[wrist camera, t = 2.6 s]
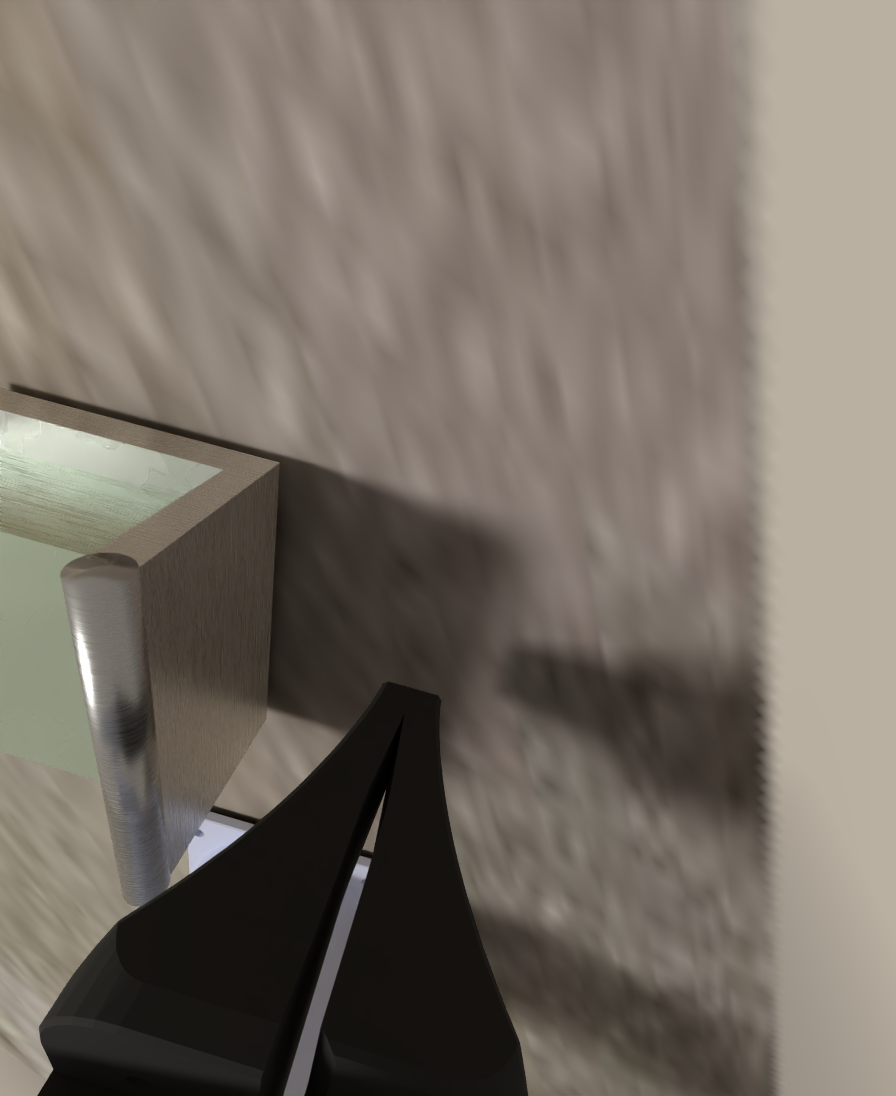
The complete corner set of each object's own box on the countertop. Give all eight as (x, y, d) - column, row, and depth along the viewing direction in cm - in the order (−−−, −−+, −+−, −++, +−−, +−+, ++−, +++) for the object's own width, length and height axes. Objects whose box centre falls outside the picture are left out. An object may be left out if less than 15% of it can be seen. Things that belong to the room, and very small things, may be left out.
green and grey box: (271, 715, 17) (153, 911, 12) (40, 649, 17) (-175, 813, 12) (287, 460, 13) (108, 597, 7) (-25, 378, 13) (-405, 453, 8)
